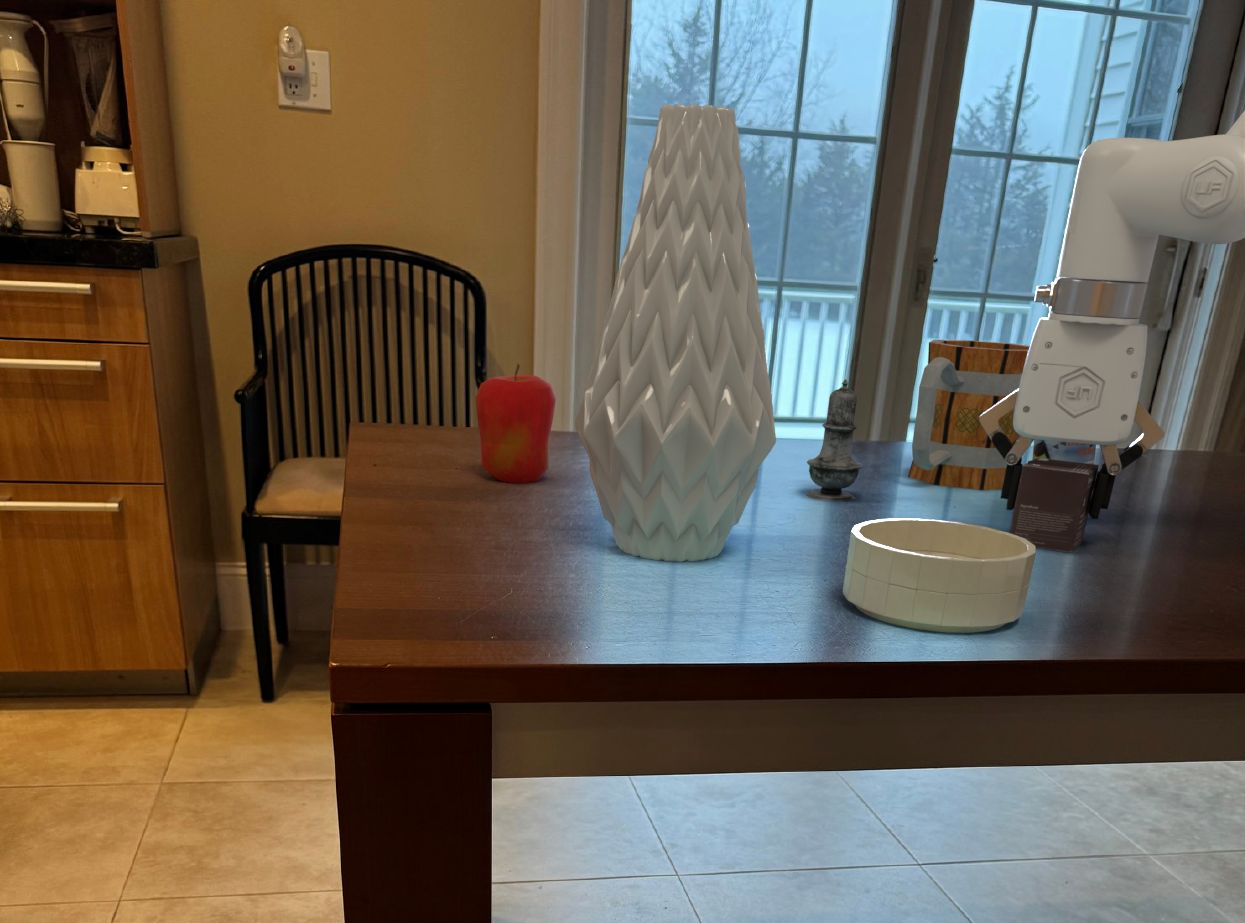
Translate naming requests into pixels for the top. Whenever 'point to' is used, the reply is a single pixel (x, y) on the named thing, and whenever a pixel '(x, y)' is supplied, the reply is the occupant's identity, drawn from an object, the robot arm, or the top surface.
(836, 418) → the salt shaker
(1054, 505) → the box
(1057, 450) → the beverage can
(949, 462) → the mug
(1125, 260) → the robot arm
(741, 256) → the vase
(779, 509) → the top surface
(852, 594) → the bowl
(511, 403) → the apple
